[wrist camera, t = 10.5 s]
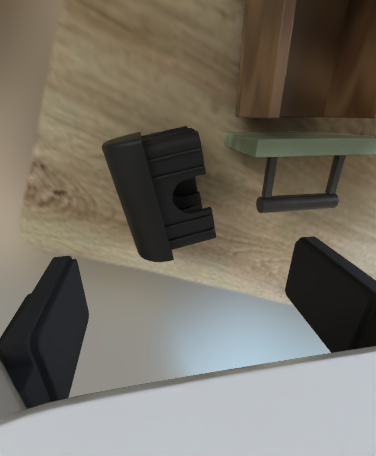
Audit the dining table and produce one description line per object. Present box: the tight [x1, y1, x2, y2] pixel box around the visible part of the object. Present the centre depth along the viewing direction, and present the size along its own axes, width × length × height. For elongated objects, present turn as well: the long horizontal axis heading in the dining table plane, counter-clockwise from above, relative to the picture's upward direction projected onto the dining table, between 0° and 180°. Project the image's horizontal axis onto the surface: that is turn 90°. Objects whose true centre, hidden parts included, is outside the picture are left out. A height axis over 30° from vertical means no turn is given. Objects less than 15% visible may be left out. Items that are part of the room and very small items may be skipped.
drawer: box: [225, 0, 376, 213], centre depth 19 cm, size 19×10×7 cm, turn 0°
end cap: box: [102, 126, 216, 262], centre depth 21 cm, size 10×7×7 cm
